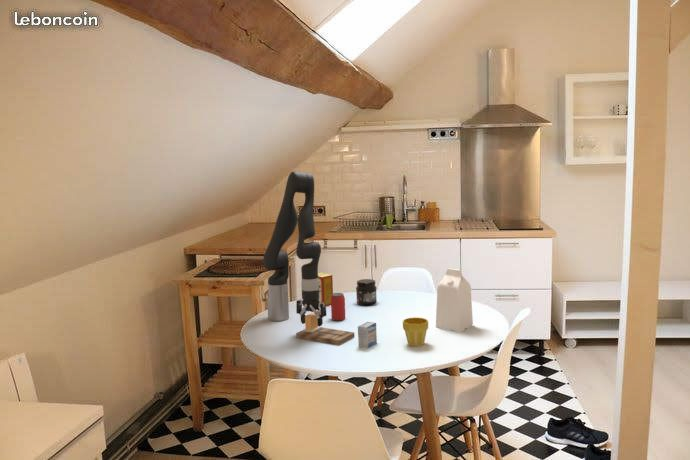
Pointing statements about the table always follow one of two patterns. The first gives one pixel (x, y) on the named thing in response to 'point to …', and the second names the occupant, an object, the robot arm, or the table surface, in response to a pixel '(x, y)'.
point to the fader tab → (311, 323)
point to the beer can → (338, 306)
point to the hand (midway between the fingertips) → (311, 324)
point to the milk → (454, 302)
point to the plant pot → (415, 330)
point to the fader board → (327, 336)
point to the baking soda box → (325, 288)
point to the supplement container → (366, 292)
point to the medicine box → (367, 334)
